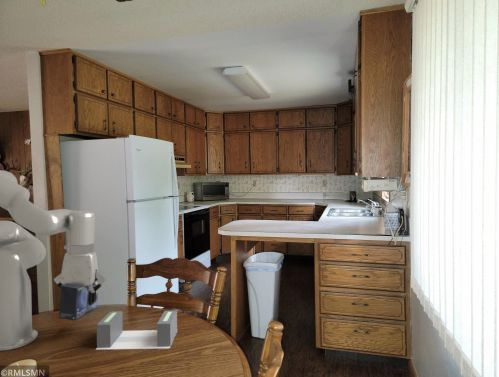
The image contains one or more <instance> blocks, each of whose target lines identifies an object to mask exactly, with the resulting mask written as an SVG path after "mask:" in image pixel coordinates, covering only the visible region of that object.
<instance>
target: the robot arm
mask: <svg viewBox="0 0 499 377" xmlns="http://www.w3.org/2000/svg"><path fill="white" fill-rule="evenodd" d="M30 197H31V193H30V190H29V189H28V188H26V187H24V186H22V185H20V184H19V183H18V179H17V177H16V176H15V175H14V174H13V172H9V171H7V170H1V169H0V207H1V208H2V209H4V210H6V211H8V214H9V215H10V216H11V218H12V219H13V221H15V222H13V221H11V220H0V352H1V351H9V350H13V349H15V350H16V349H18V348H21V347H23V346H27V345H29V344H31V343H32V342H33V341H35V340H36V339H37V338H38V336H39V335H38V334H39V333H38V331H37V330H35V329H33V325H32V324H33V317H32V316H33V315H32V313H33V311H32V309H33V308H32V282H31V279H30V276H29V274H28V272H27V270H28V269H30V268H33V267H34V266H37V265H38V264H40V263H42V262H43V261H44V260H45V258H46V254H47V250H46V247H45V245H44V243H43V242H42V241H40V240H39V239H38V238H37V237H36V236H35V235H33V234H32V233H35V234H37V235H40V236H45V237H46V236H53V235H56V234H60V233H65V232H68V237H67V238H68V239H67V244H65V245H63V249H64V250H67V252H66V253H64V257H63V260H62V265H61V273H59V274H58V275H57V276H56V277H55V278H53V281H54V282H55V283H56V285H57V287H58V288H59V289H61V285H63V284H77V285H84V286H88V287H89V289H90V291H91V292H90V293H89V305H92V304H93V303H95V301H96V291H97V290H98V291H99V289H100V288H101V287H102V286H103V285H105V283H106V282H107V278H105V277H104V276H103V275H102V274H101V273H100V272H99V266H98V265H99V264H98V256H97V252H96V251H95V234H96V233H95V232H96V231H95V230H96V229H95V228H96V227H95V226H96V215H95V213H94V211H91V210H72V209H65V208H60V209H51V210H46V209H43V208H42V207H39V206H38V205H36V204H34V202H31V201H30ZM26 229H27V230H26ZM28 230H29V231H30V232H32V233H30V232H29V231H28ZM97 280H98V284H97V285H96V283H95V282H96V281H97Z"/></svg>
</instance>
